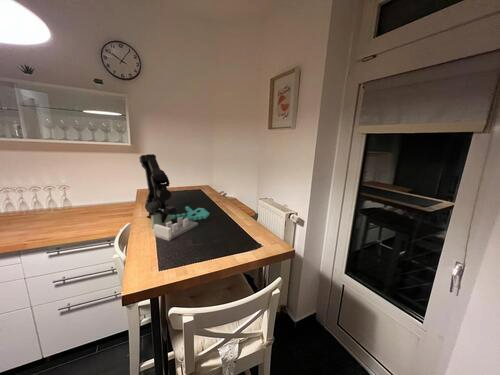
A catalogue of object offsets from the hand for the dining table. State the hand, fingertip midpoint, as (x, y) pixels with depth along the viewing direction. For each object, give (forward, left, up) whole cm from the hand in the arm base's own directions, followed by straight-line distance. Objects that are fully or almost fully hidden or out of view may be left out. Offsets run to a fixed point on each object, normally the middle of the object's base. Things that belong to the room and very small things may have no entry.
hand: (161, 222), depth 118 cm
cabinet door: (0, 0, -2) cm, 2 cm away
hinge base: (+12, 0, -2) cm, 12 cm away
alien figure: (+4, +22, -3) cm, 23 cm away
